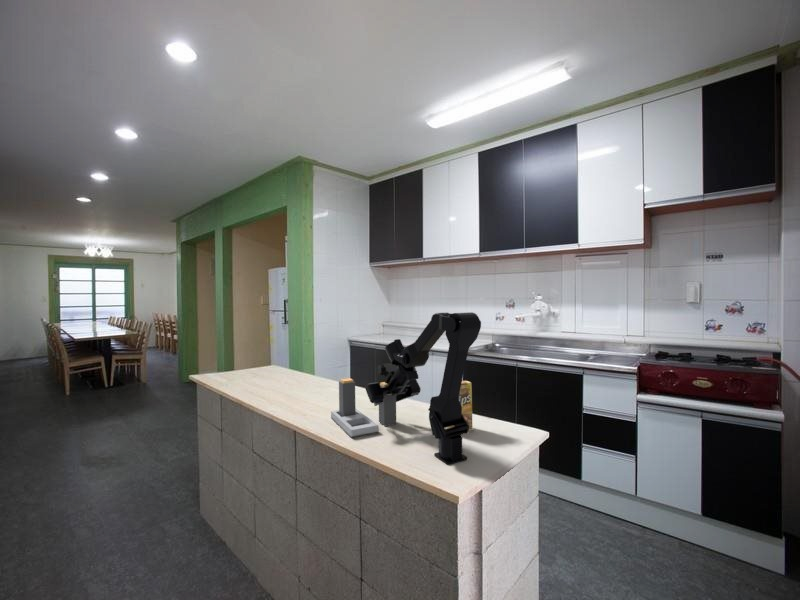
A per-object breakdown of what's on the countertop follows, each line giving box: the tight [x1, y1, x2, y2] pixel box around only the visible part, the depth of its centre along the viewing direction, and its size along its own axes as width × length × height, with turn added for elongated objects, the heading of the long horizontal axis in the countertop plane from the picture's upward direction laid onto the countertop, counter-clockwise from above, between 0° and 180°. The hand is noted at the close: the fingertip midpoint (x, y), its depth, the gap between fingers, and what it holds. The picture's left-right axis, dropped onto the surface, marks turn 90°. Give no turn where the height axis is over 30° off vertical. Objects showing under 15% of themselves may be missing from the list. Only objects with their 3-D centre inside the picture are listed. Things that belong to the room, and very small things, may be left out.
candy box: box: [444, 379, 474, 431], centre depth 116 cm, size 9×4×15 cm, turn 107°
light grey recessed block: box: [330, 408, 379, 439], centre depth 122 cm, size 22×9×2 cm, turn 27°
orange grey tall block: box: [378, 381, 397, 427], centre depth 123 cm, size 4×4×14 cm
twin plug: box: [338, 377, 357, 417], centre depth 127 cm, size 4×4×14 cm
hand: (385, 402), depth 124 cm, fingers open, 8 cm apart
